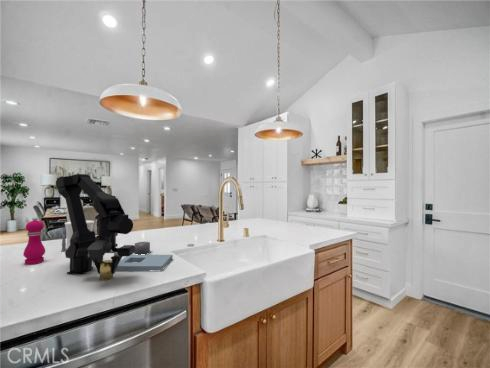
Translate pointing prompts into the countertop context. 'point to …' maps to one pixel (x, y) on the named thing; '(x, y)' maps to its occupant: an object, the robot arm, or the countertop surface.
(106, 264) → the brass fitting
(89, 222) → the cup
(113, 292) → the countertop surface
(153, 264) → the socket board
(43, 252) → the pepper mill
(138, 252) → the black coupling
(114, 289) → the countertop surface
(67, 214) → the skyscraper
